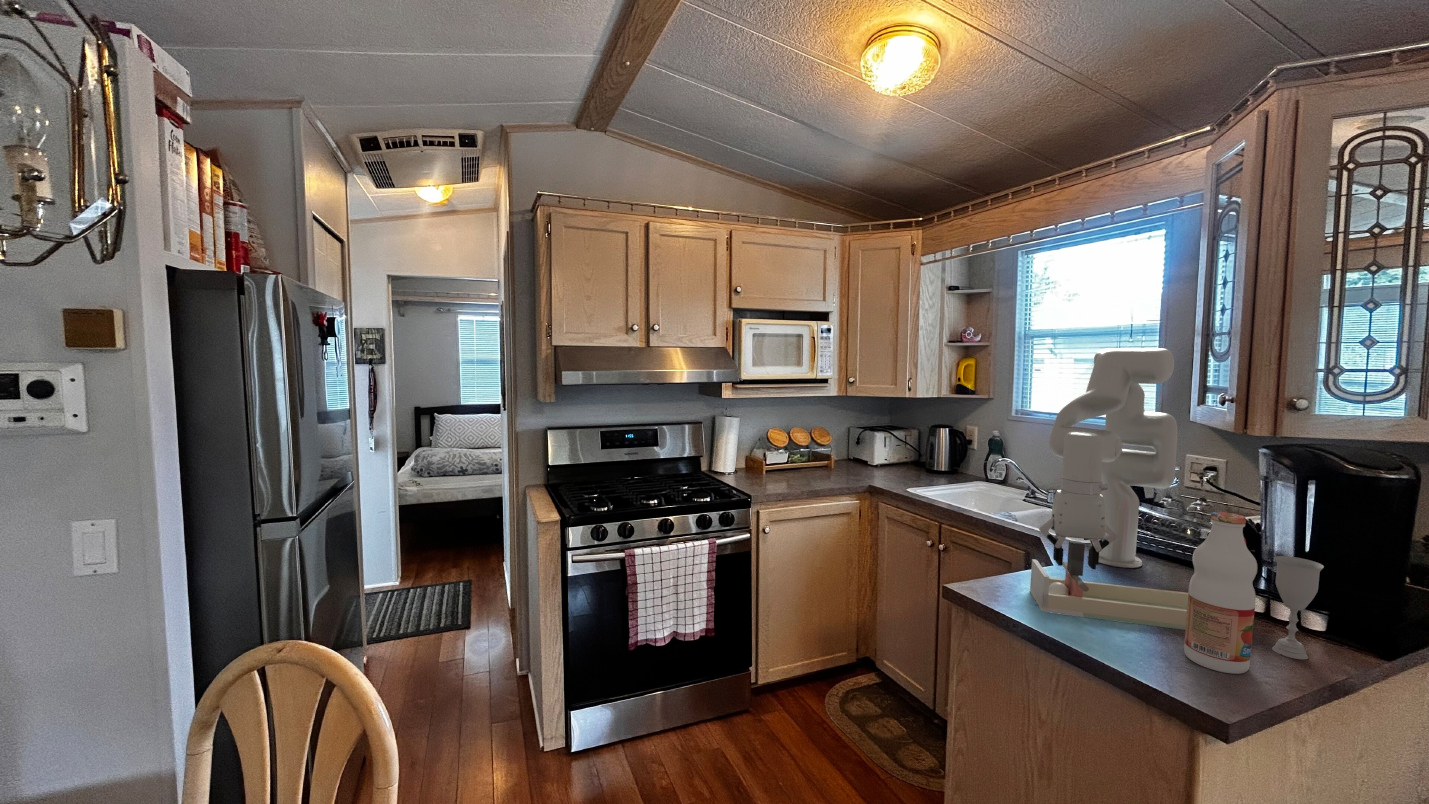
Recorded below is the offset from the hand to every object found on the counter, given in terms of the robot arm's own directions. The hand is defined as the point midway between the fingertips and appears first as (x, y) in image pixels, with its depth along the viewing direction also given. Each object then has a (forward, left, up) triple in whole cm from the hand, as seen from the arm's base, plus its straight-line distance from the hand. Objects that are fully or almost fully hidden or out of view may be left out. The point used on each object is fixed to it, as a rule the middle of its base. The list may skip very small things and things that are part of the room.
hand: (1075, 564), depth 135 cm
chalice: (+11, +34, -10) cm, 38 cm away
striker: (0, 0, -8) cm, 8 cm away
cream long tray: (0, +8, -10) cm, 13 cm away
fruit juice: (+20, +18, -10) cm, 29 cm away
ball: (0, -3, -7) cm, 7 cm away
